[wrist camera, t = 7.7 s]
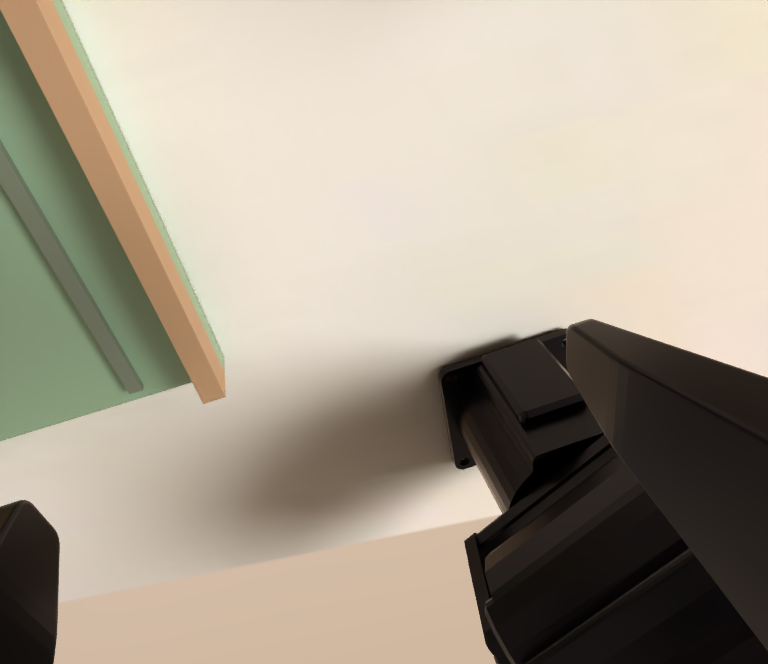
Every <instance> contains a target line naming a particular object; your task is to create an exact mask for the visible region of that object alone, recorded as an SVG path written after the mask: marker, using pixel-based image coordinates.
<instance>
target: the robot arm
mask: <svg viewBox="0 0 768 664" xmlns="http://www.w3.org/2000/svg"><path fill="white" fill-rule="evenodd" d="M564 339H566V340H565V341H563V340H564ZM562 341H563V342H562ZM451 375H453V377H451V378H450V379H447V378H448V377H449V376H451ZM438 379H439V384H440V390H441V396H442V402H443V407H444V413H445V419H446V425H447V430H448V436H449V442H450V447H451V453H452V459H453V461H454V463H455V465H456V467H457V468H458V469H466V468H469V467H472V466H475V465H477V466H478V468H479V470H480V472H481V474H482V476H483V478H484V480H485V481H486V483H487V485H488V487H489V489H490V491H491V493H492V495H493V497H494V499H495V500H496V502H497V504H498V506H499V508H500V510H501V512H502V515H500V516H499V517H498V518H497V519H495V520H494V521H493V522H492V523H490V524H489V525H488V526H486V527H485V528H484V529H483V530H481V531H480V532H479V533H478V534H477V533H474V534H473V535H471V536H470V537H469V538H468V539H466V540H465V541H464V542H465V548H466V553H467V557H468V563H469V568H470V573H471V577H472V582H473V587H474V591H475V596H476V600H477V605H478V610H479V615H480V619H481V624H482V628H483V633H484V638H485V642H486V645H487V647H488V649H489V650H490V651H491V653H492V654H493V655H494V659H495V661H496V663H497V664H768V378H767V377H764V376H761V375H758V374H755V373H752V372H749V371H746V370H743V369H740V368H737V367H734V366H731V365H728V364H725V363H722V362H719V361H716V360H713V359H710V358H707V357H704V356H701V355H699V354H696V353H693V352H690V351H687V350H684V349H681V348H678V347H675V346H672V345H669V344H666V343H663V342H660V341H657V340H654V339H651V338H648V337H645V336H642V335H639V334H636V333H633V332H630V331H627V330H624V329H621V328H618V327H615V326H612V325H609V324H606V323H603V322H600V321H597V320H593V319H588V320H584V321H581V322H578V323H575V324H572V325H570V326H569V327H568V328H567V329H561V330H558V331H555V332H551V333H548V334H545V335H542V336H539V337H536V338H533V339H530V340H526V341H523V342H520V343H517V344H514V345H511V346H508V347H505V348H501V349H498V350H495V351H492V352H489V353H486V354H483V355H479V356H476V357H473V358H470V359H467V360H464V361H461V362H458V363H454V364H451V365H448V366H446V367H444V368H443V369H442V370H441V371H440V372H439V375H438ZM464 458H465V459H464ZM462 459H463V460H462ZM59 550H60V544H59V538H58V534H57V532H56V531H55V529H54V528H53V527H52V525H51V524H50V523H49V522H48V521H47V520H46V519H45V518H44V516H43V515H42V514H41V513H40V512H39V511H38V510H37V508H36V507H35V506H34V505H33V504H32V503H31V502H29V501H26V500H20V501H17V502H14V503H11V504H7V505H4V506H1V507H0V664H53V662H54V655H55V646H56V637H57V619H58V585H59Z"/></svg>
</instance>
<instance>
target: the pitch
mask: <svg viewBox="0 0 768 664" xmlns="http://www.w3.org/2000/svg"><path fill="white" fill-rule="evenodd" d="M191 382H192V383H193V385H194V387H195V389H196V391H197V393H198V394H199V396H200V398H201V400H202V402H203V404H204V403H207V402H211V401H214V400H217V399H220V398H223V397H225V370H224V356H223V354H222V351H221V349H220V347H219V345H218V343H217V340H216V338H215V336H214V334H213V332H212V329H211V327H210V325H209V323H208V321H207V318H206V316H205V314H204V312H203V310H202V307H201V305H200V303H199V301H198V299H197V296H196V294H195V292H194V290H193V288H192V285H191V283H190V281H189V279H188V277H187V274H186V272H185V270H184V268H183V266H182V263H181V261H180V259H179V257H178V255H177V252H176V250H175V248H174V246H173V244H172V241H171V239H170V237H169V235H168V233H167V230H166V228H165V226H164V224H163V222H162V219H161V217H160V215H159V213H158V211H157V208H156V206H155V204H154V202H153V200H152V197H151V195H150V193H149V191H148V189H147V186H146V184H145V182H144V180H143V178H142V175H141V173H140V171H139V169H138V167H137V164H136V162H135V160H134V158H133V156H132V153H131V151H130V149H129V147H128V145H127V142H126V140H125V138H124V136H123V134H122V131H121V129H120V127H119V125H118V123H117V120H116V118H115V116H114V114H113V112H112V109H111V107H110V105H109V103H108V101H107V99H106V96H105V94H104V92H103V90H102V88H101V85H100V83H99V81H98V79H97V77H96V74H95V72H94V70H93V68H92V66H91V63H90V61H89V59H88V57H87V55H86V52H85V50H84V48H83V46H82V44H81V41H80V39H79V37H78V35H77V33H76V30H75V28H74V26H73V24H72V22H71V19H70V17H69V15H68V13H67V11H66V8H65V6H64V4H63V2H62V0H0V441H2V440H5V439H9V438H12V437H15V436H18V435H22V434H25V433H28V432H31V431H35V430H38V429H41V428H44V427H48V426H51V425H54V424H57V423H61V422H64V421H67V420H70V419H74V418H77V417H80V416H83V415H87V414H90V413H93V412H96V411H100V410H103V409H106V408H109V407H113V406H116V405H119V404H122V403H126V402H129V401H132V400H135V399H139V398H142V397H145V396H148V395H152V394H155V393H158V392H161V391H165V390H168V389H171V388H174V387H178V386H181V385H184V384H187V383H191Z"/></svg>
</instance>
